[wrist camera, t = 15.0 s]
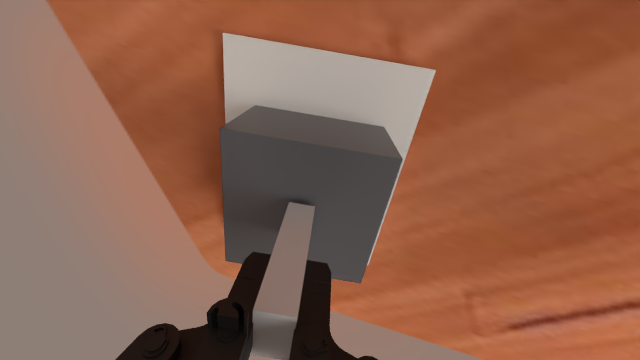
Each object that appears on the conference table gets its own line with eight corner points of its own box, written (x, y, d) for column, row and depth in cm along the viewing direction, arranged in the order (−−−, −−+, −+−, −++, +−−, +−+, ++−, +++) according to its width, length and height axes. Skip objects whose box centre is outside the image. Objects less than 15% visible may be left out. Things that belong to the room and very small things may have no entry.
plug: (262, 100, 20) (219, 128, 13) (380, 120, 20) (402, 158, 13) (259, 199, 24) (225, 260, 17) (354, 215, 24) (360, 283, 17)
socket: (237, 34, 18) (217, 31, 15) (424, 67, 18) (440, 71, 15) (238, 226, 27) (225, 247, 24) (365, 247, 27) (368, 271, 24)
